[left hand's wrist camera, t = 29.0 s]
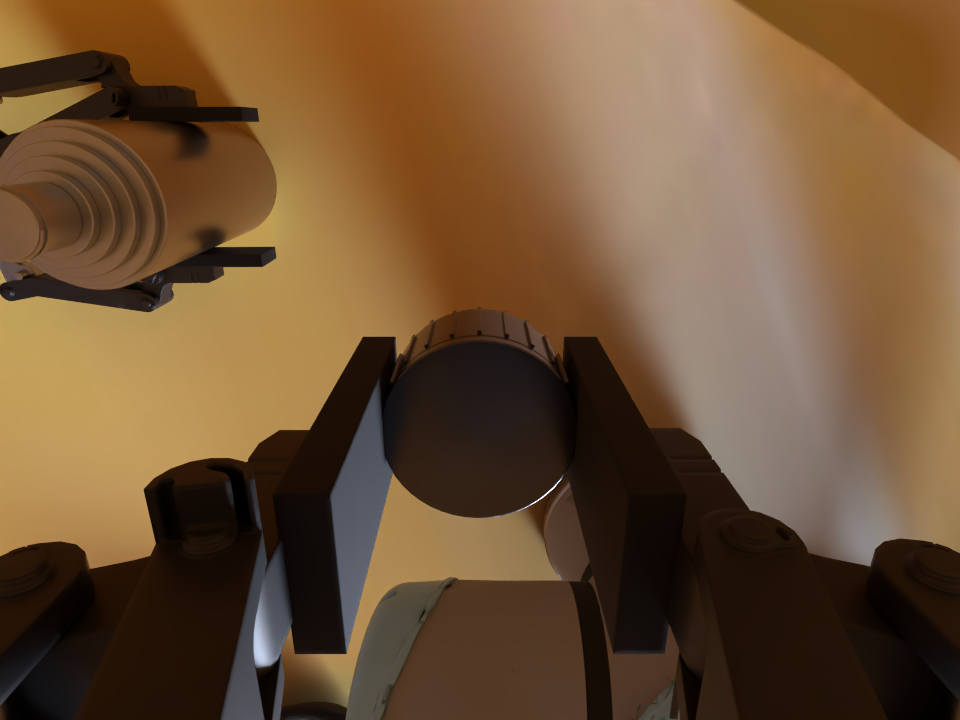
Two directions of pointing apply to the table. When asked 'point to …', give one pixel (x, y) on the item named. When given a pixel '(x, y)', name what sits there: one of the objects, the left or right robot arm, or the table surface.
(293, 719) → the oil lamp
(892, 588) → the left robot arm
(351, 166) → the table surface
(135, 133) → the bottle
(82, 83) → the right robot arm
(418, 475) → the cap
